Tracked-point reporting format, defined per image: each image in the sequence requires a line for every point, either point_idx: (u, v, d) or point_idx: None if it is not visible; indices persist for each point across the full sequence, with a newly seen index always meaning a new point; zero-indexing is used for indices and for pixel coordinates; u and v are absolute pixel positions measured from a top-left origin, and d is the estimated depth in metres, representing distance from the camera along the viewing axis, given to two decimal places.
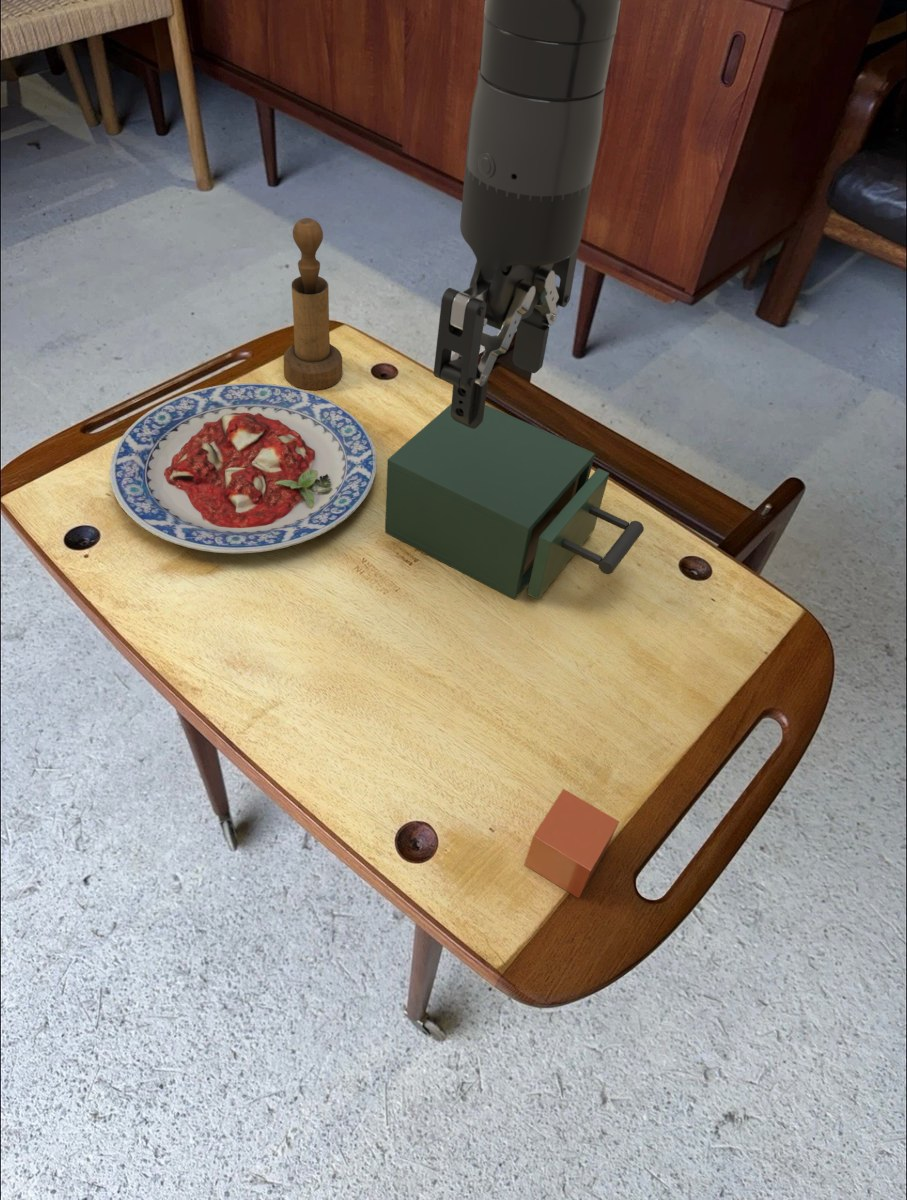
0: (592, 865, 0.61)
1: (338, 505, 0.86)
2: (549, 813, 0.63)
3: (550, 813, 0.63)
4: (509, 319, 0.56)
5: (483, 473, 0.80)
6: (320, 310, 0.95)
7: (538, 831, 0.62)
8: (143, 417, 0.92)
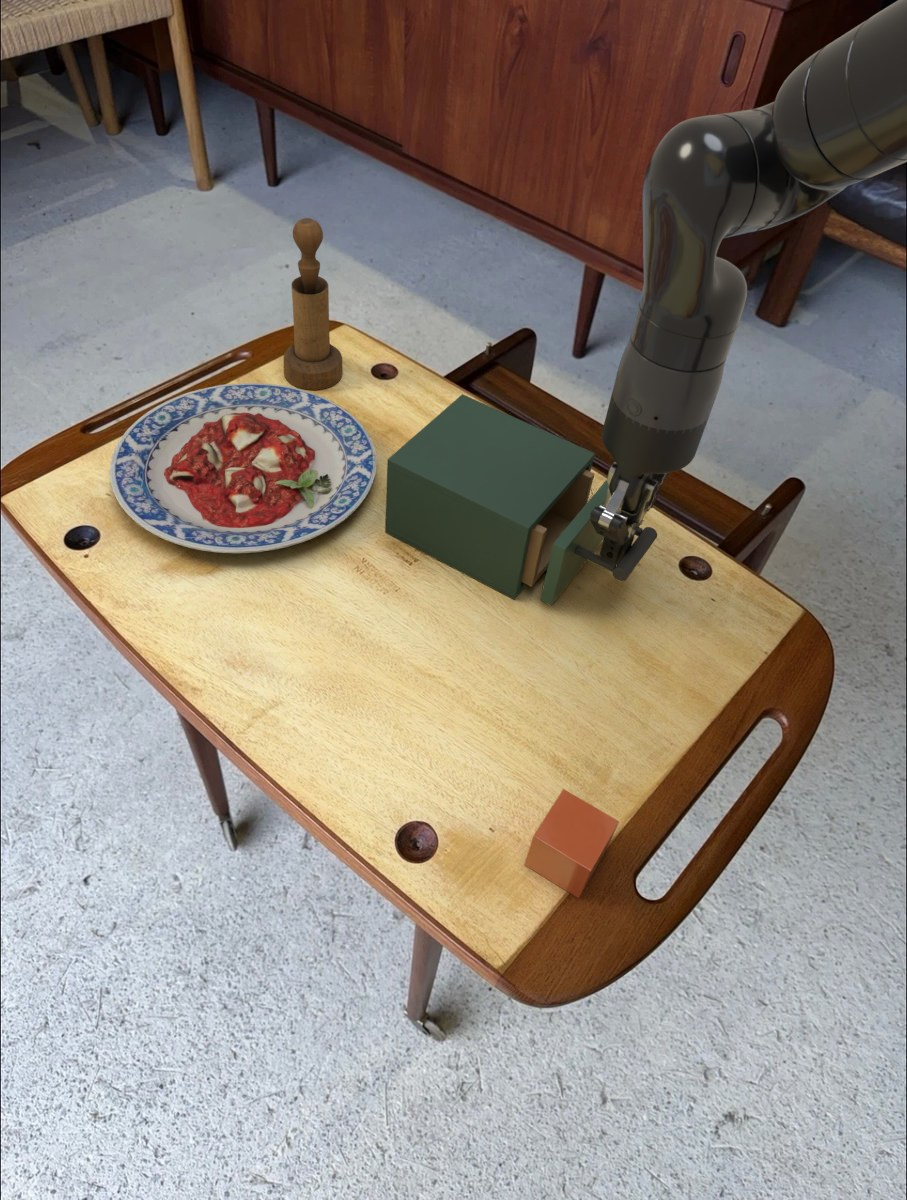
0: (592, 865, 0.61)
1: (338, 505, 0.86)
2: (549, 813, 0.63)
3: (550, 813, 0.63)
4: (642, 506, 0.73)
5: (483, 473, 0.80)
6: (320, 310, 0.95)
7: (538, 831, 0.62)
8: (143, 417, 0.92)
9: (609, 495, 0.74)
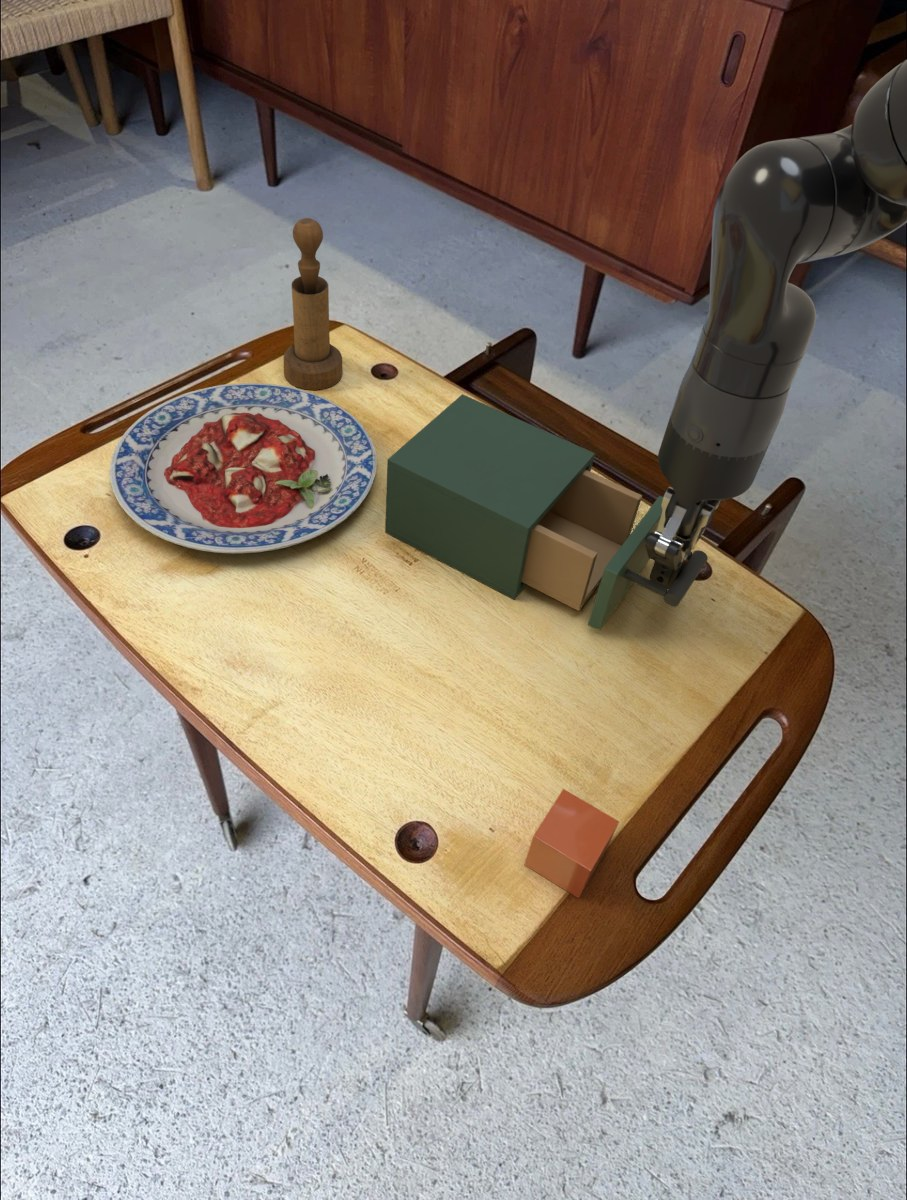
0: (592, 865, 0.61)
1: (338, 505, 0.86)
2: (549, 813, 0.63)
3: (550, 813, 0.63)
4: (697, 531, 0.72)
5: (483, 473, 0.80)
6: (320, 310, 0.95)
7: (538, 831, 0.62)
8: (143, 417, 0.92)
9: (662, 520, 0.73)
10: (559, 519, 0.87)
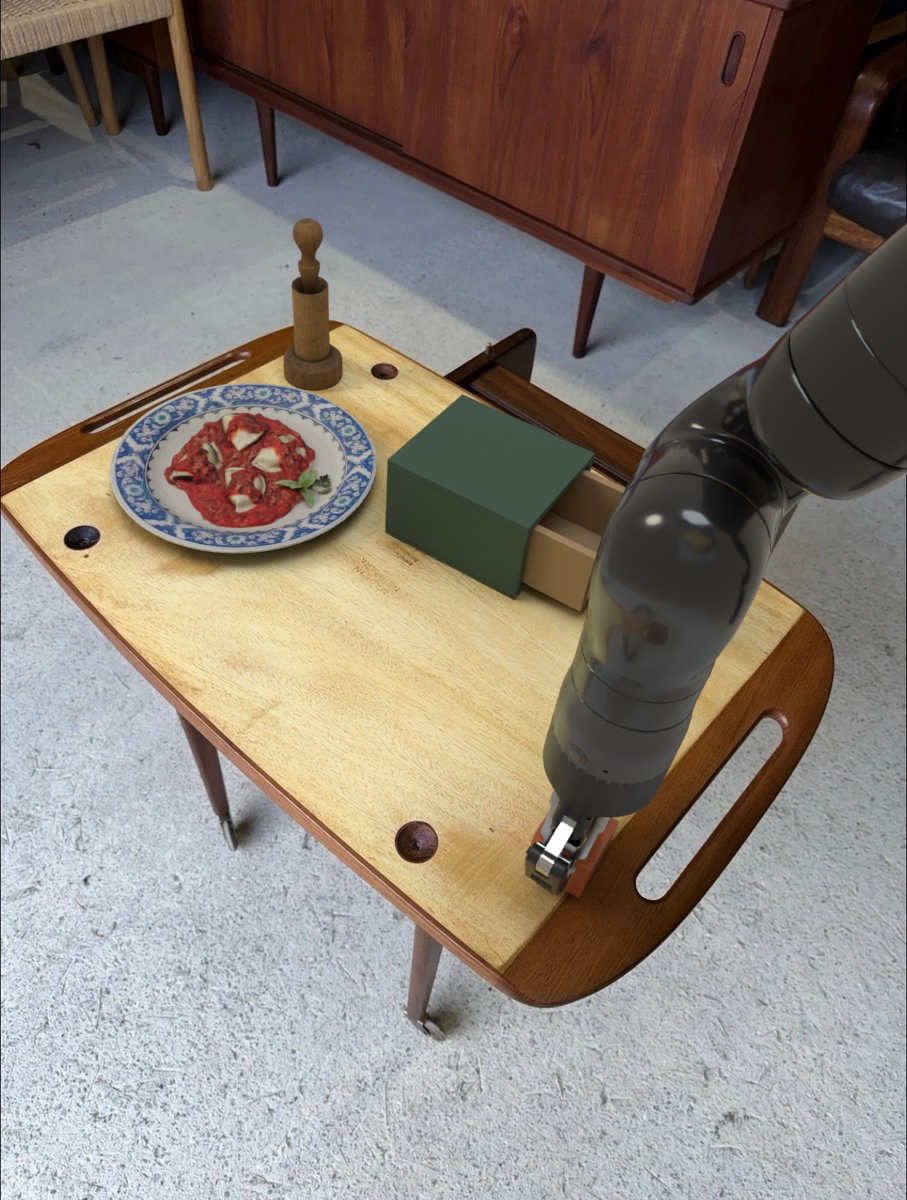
0: (592, 865, 0.61)
1: (338, 505, 0.86)
2: None
3: None
4: (591, 838, 0.57)
5: (483, 473, 0.80)
6: (320, 310, 0.95)
7: (538, 831, 0.62)
8: (143, 417, 0.92)
9: (550, 819, 0.58)
10: (560, 519, 0.87)
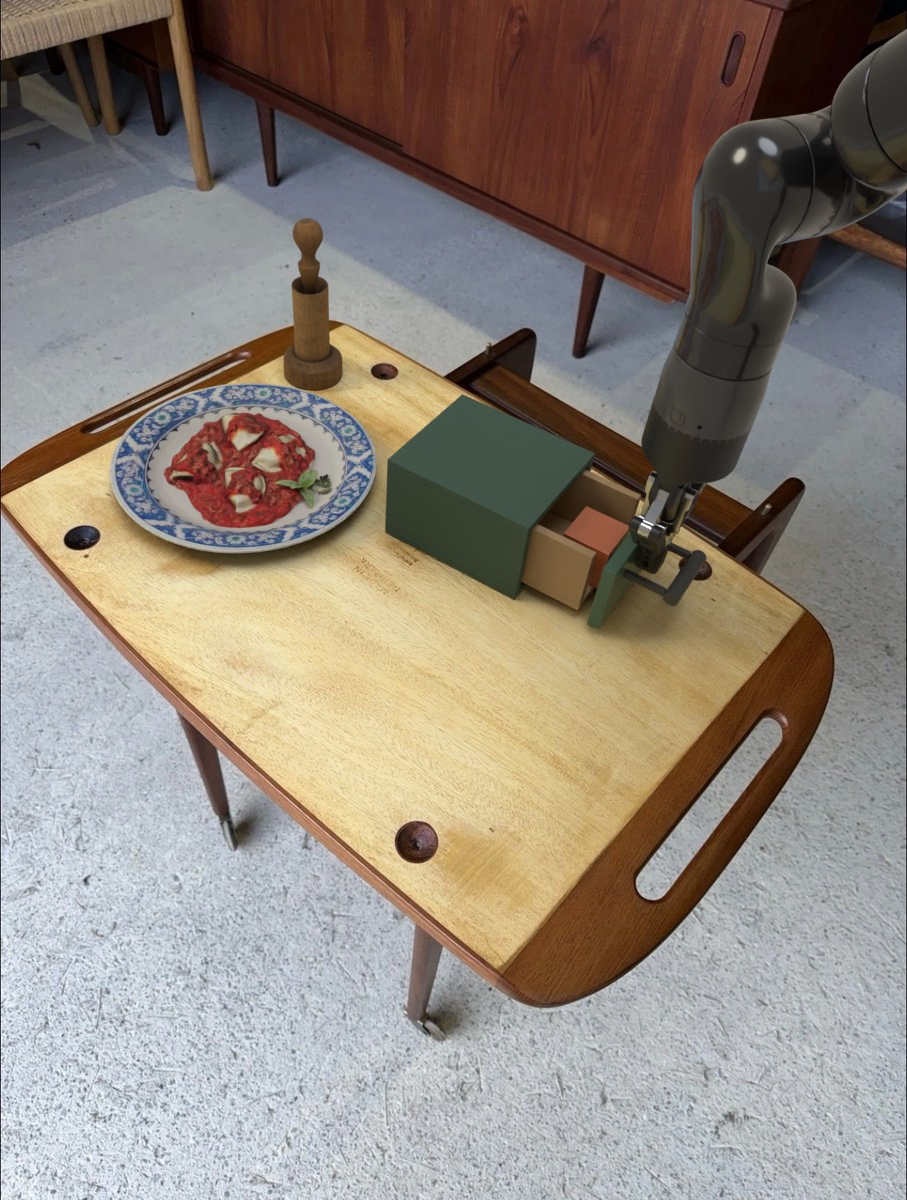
0: (610, 551, 0.78)
1: (338, 505, 0.86)
2: (575, 520, 0.80)
3: (576, 520, 0.80)
4: (680, 515, 0.72)
5: (483, 473, 0.80)
6: (320, 310, 0.95)
7: (567, 530, 0.79)
8: (143, 417, 0.92)
9: (647, 504, 0.73)
10: (558, 518, 0.87)
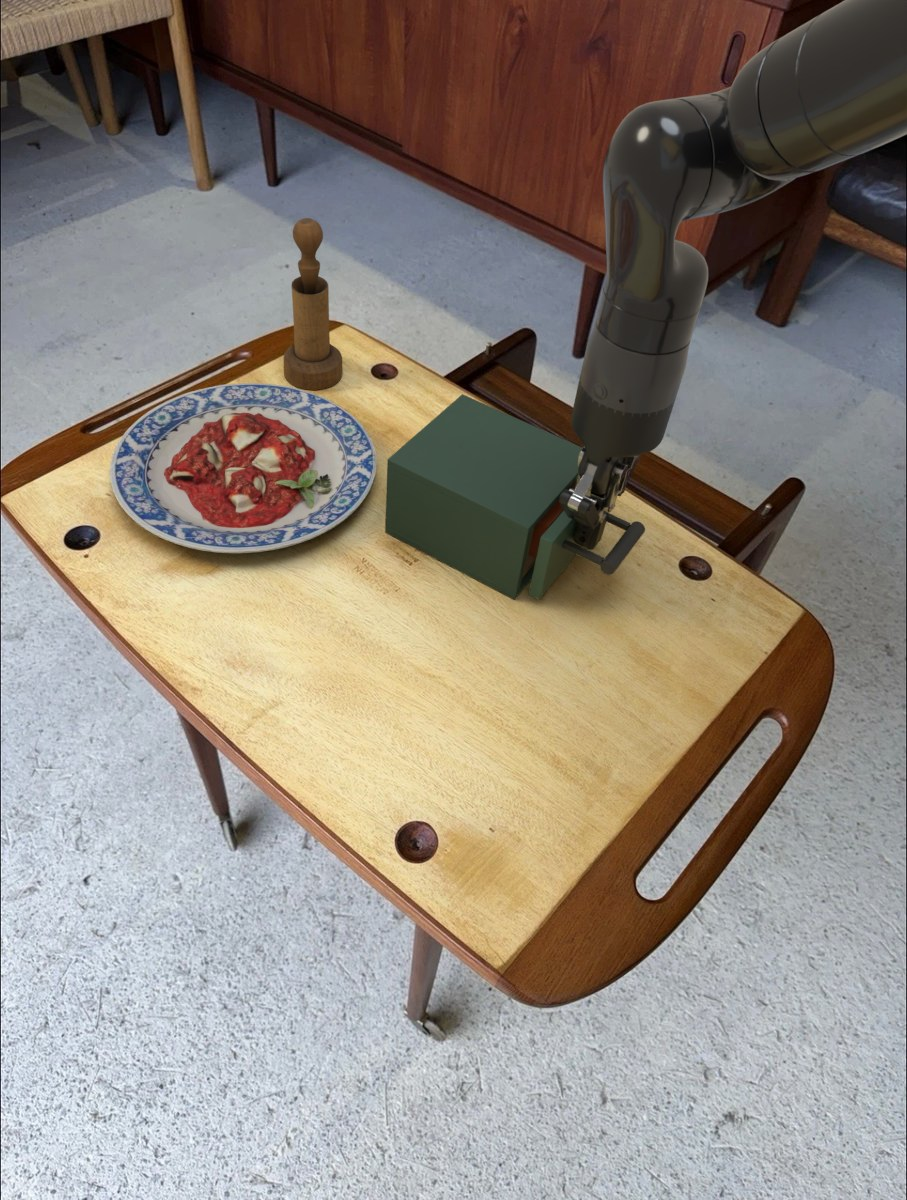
0: (550, 522, 0.80)
1: (338, 505, 0.86)
2: None
3: None
4: (611, 490, 0.74)
5: (483, 473, 0.80)
6: (320, 310, 0.95)
7: None
8: (143, 417, 0.92)
9: (580, 479, 0.75)
10: None
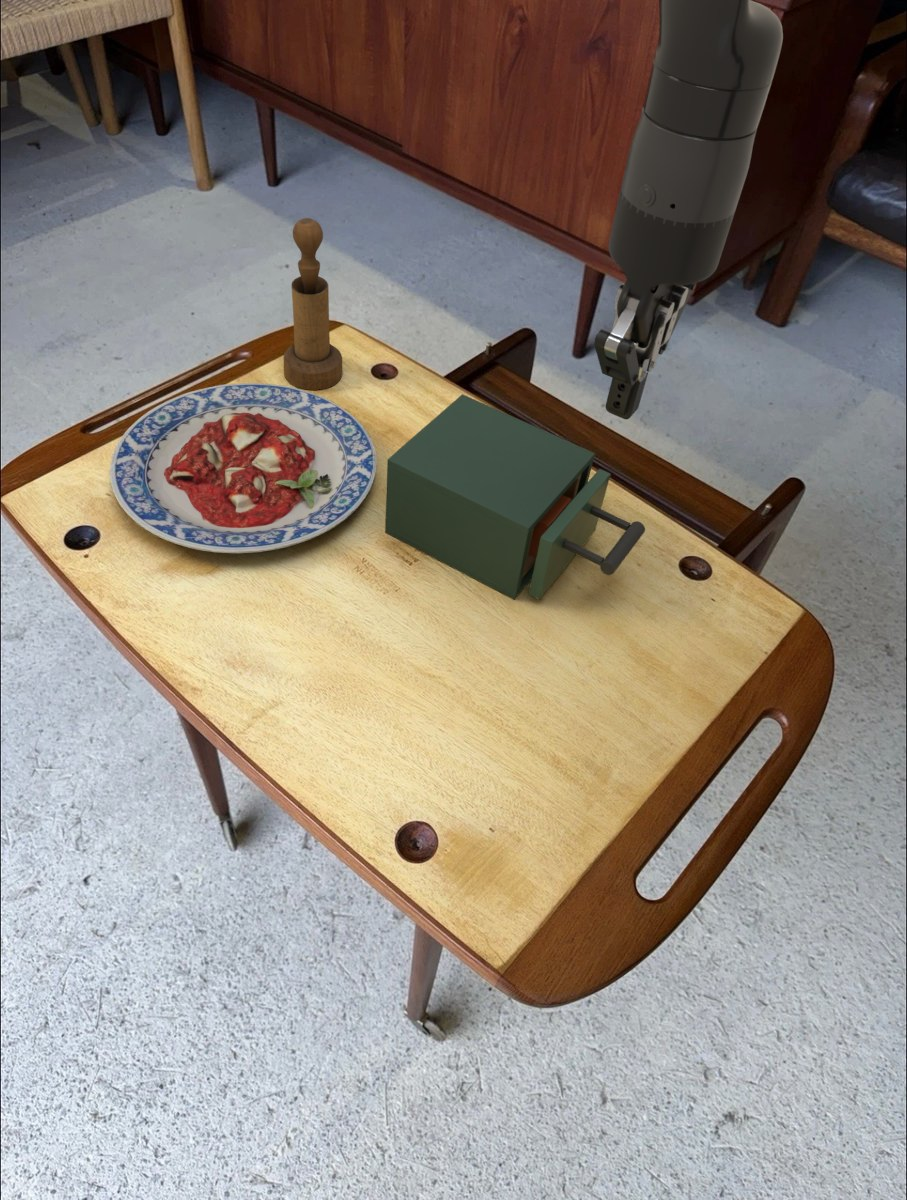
0: (550, 522, 0.80)
1: (338, 505, 0.86)
2: None
3: None
4: (654, 335, 0.63)
5: (483, 473, 0.80)
6: (320, 310, 0.95)
7: None
8: (143, 417, 0.92)
9: None
10: None
